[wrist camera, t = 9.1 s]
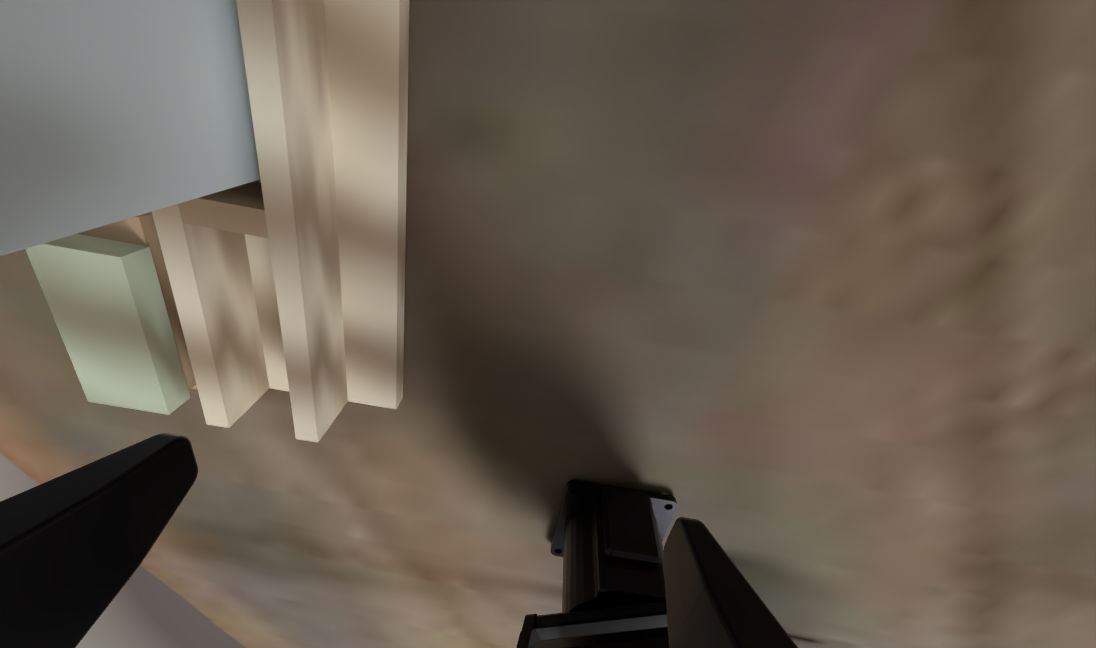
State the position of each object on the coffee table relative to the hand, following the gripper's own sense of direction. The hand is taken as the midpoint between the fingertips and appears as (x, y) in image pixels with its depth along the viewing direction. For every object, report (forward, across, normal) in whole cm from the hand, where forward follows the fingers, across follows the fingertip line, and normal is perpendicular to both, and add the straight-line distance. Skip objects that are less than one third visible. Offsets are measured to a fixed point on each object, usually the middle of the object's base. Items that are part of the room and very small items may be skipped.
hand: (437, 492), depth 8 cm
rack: (+13, +12, -1) cm, 18 cm away
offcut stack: (+12, +15, +4) cm, 20 cm away
